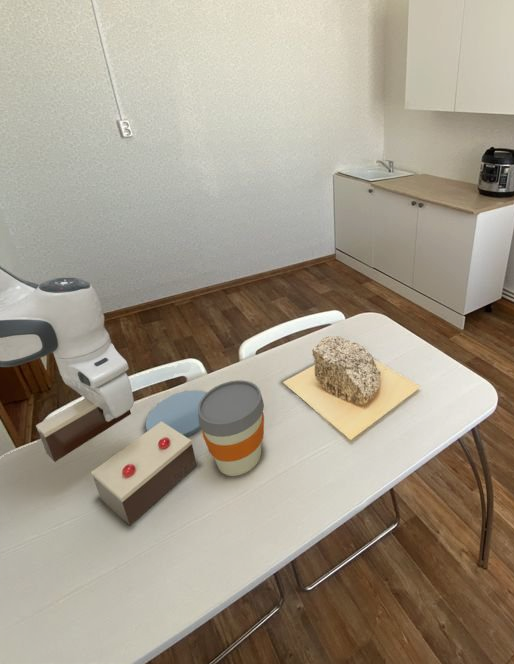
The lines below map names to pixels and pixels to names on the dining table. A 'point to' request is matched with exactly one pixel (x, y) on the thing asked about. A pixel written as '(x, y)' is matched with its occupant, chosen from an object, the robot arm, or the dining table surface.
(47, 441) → the cake slice
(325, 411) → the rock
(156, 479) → the cake
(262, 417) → the reusable coffee cup
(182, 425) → the plate
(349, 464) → the dining table surface
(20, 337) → the robot arm
